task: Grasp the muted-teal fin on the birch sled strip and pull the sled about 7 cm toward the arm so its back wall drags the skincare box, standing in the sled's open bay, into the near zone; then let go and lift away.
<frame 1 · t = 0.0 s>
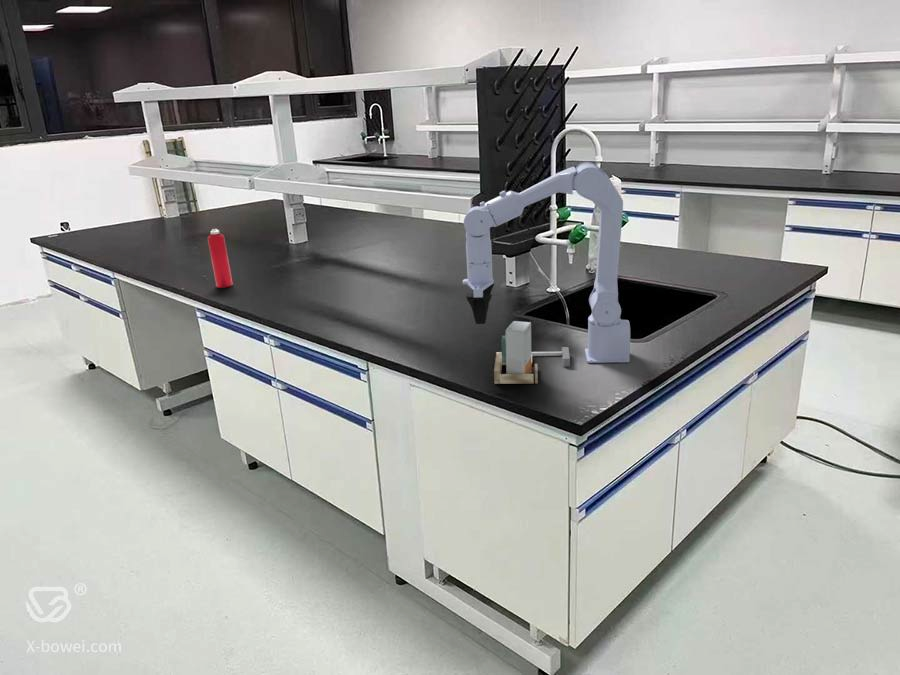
hand: (481, 317, 157), 10 cm above the countertop, fingers open, 7 cm apart
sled: (516, 358, 151), point 3 cm above the countertop, slide at 0.0 cm
skincare box: (519, 377, 149), resting in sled
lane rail: (532, 355, 160), on the countertop
bottle: (224, 286, 235), on the countertop
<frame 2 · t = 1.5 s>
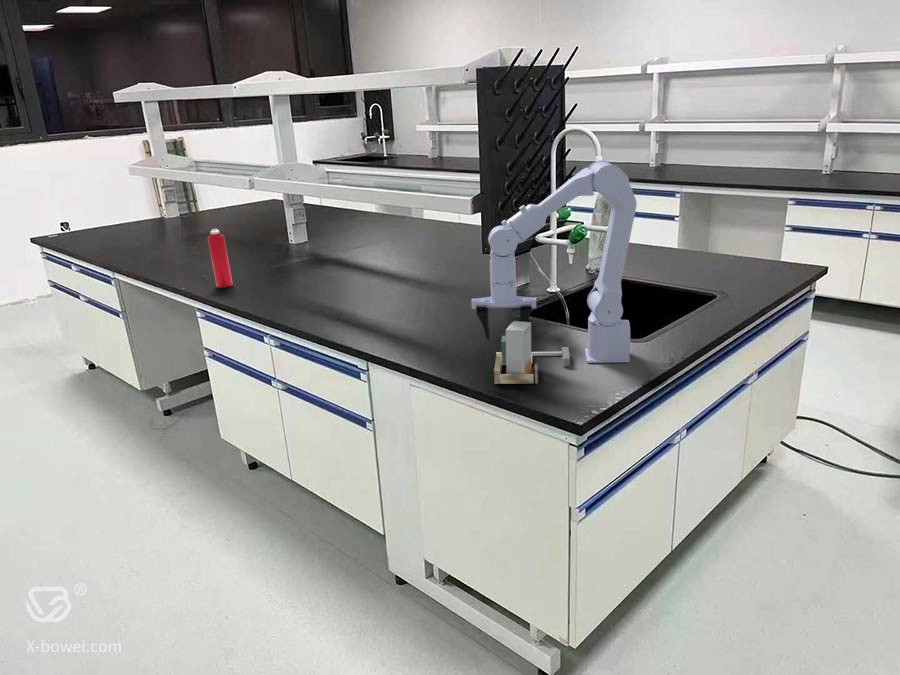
hand: (504, 337, 155), 6 cm above the countertop, fingers open, 7 cm apart
nothing on the countertop moved.
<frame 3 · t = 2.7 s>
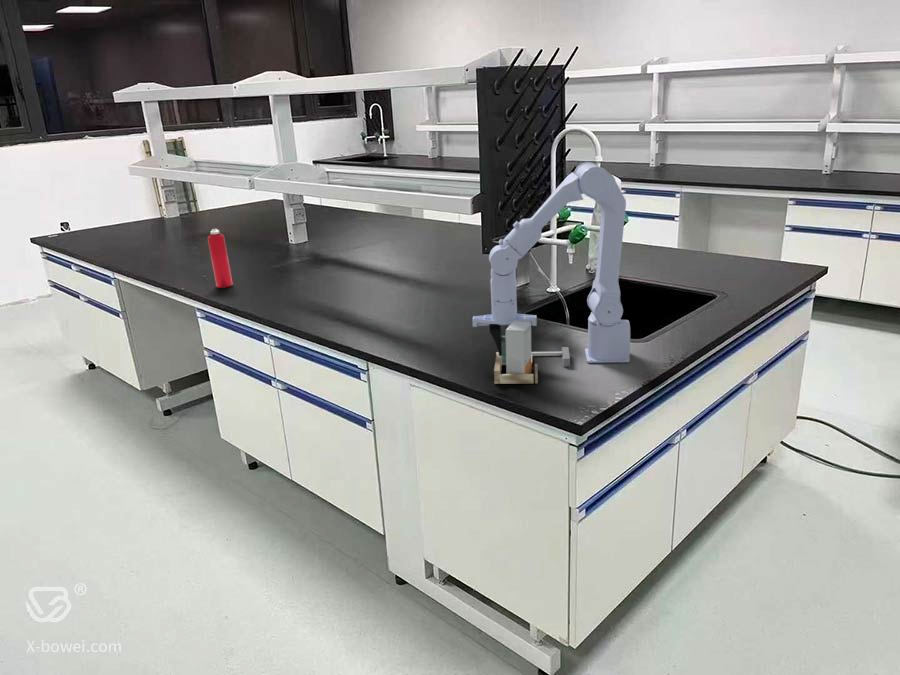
hand: (505, 354, 157), 2 cm above the countertop, fingers closed on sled, 2 cm apart
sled: (516, 358, 151), point 3 cm above the countertop, slide at 0.0 cm, touching gripper
everything else where it was.
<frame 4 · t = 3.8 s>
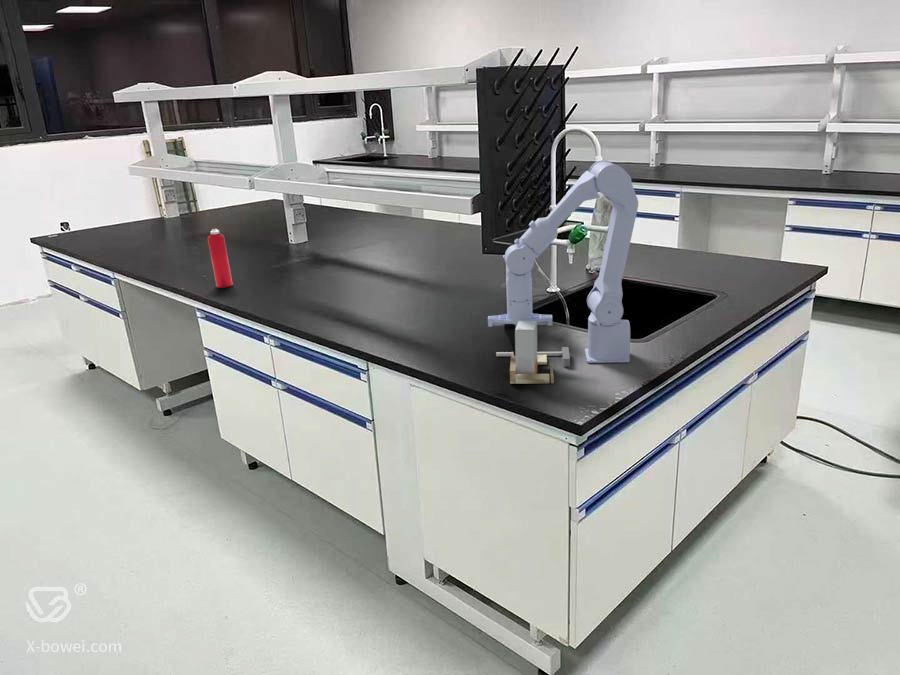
hand: (520, 354, 156), 2 cm above the countertop, fingers closed
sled: (531, 357, 151), point 3 cm above the countertop, slide at 3.4 cm, touching gripper, skincare box
skincare box: (527, 376, 150), resting in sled
everything else where it was.
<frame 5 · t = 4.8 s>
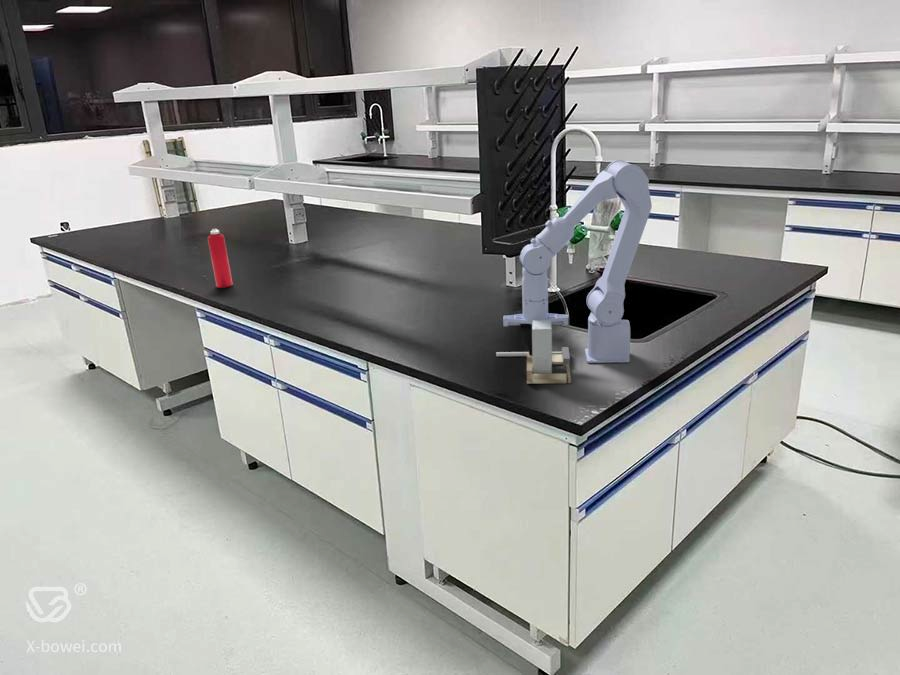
hand: (535, 354, 156), 2 cm above the countertop, fingers closed on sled, 2 cm apart
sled: (547, 357, 151), point 3 cm above the countertop, slide at 7.0 cm, touching gripper
skincare box: (542, 376, 149), resting in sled
everything else where it was.
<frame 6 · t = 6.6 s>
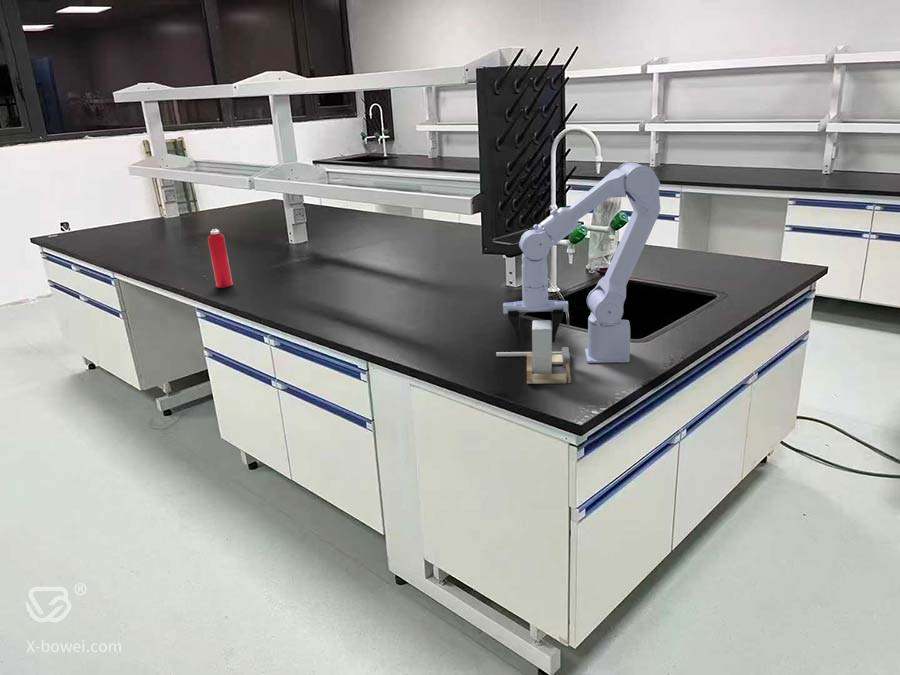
hand: (536, 341, 155), 5 cm above the countertop, fingers open, 7 cm apart
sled: (547, 357, 151), point 3 cm above the countertop, slide at 7.0 cm
everything else where it was.
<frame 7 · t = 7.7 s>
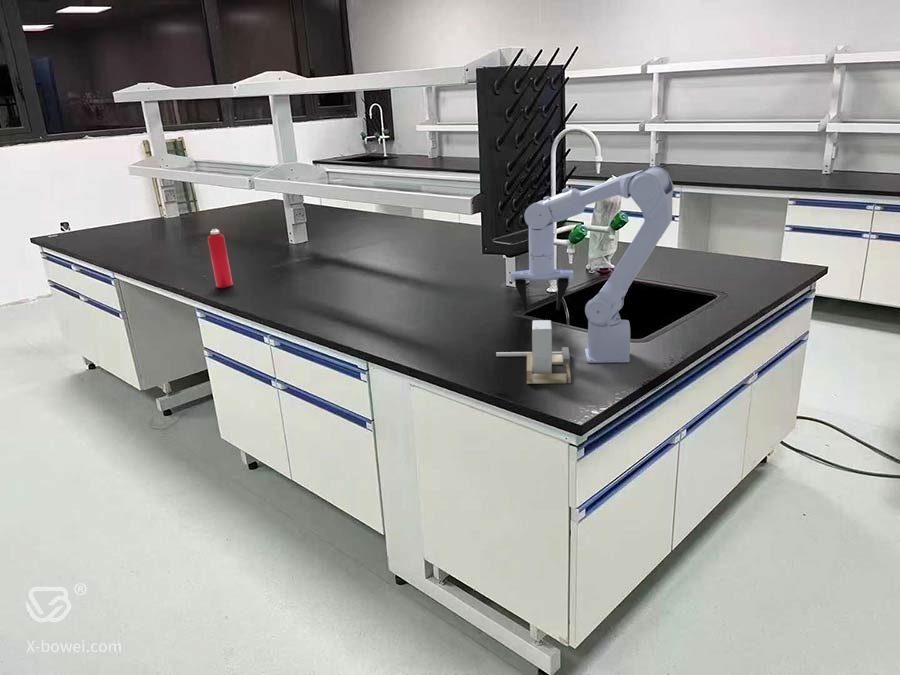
hand: (541, 309, 161), 10 cm above the countertop, fingers open, 7 cm apart
nothing on the countertop moved.
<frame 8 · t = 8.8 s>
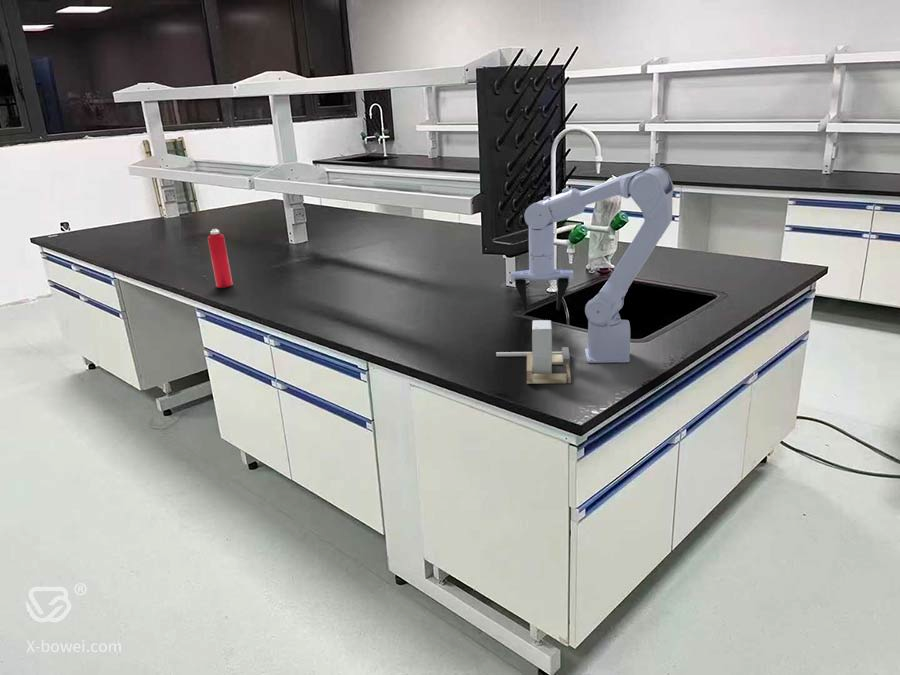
hand: (541, 309, 161), 10 cm above the countertop, fingers open, 7 cm apart
nothing on the countertop moved.
at the end: skincare box inside the target area (0.5 cm from its centre), resting in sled; skincare box tilted 0°; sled slide at 7.0 cm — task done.
